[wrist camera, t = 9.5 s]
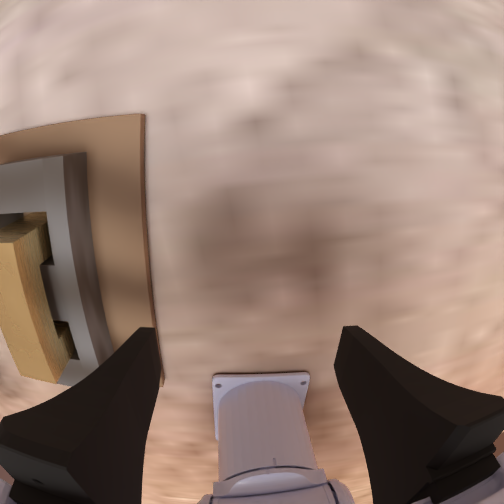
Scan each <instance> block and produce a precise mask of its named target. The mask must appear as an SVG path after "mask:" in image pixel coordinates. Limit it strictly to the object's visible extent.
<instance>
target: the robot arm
mask: <svg viewBox="0 0 504 504" xmlns="http://www.w3.org/2000/svg"><path fill="white" fill-rule="evenodd" d="M161 369H162V367H161V362H160V356H159V349H158V343H157V337H156V330H155V328H152V327H139V328H138V329H137V330H136V331H135V332H134V333H133V334H132V335H131V336H130V337H129V338H128V339H127V340H126V341H125V342H124V343H123V344H122V345H121V346H120V347H119V348H118V349H117V350H116V351H115V352H114V353H113V354H112V355H111V356H110V357H109V358H108V359H107V360H106V361H105V362H104V363H102V364H101V365H100V366H99V367H98V368H97V369H96V370H94V371H93V372H92V373H91V374H89V375H88V376H87V377H85V378H84V379H83V380H81V381H80V382H78V383H77V384H76V385H74V386H72V387H71V388H69V389H67V390H66V391H64V392H62V393H61V394H59V395H57V396H55V397H54V398H52V399H50V400H48V401H46V402H44V403H41V404H39V405H37V406H35V407H32V408H30V409H27V410H24V411H21V412H18V413H15V414H12V415H9V416H5V417H3V419H2V420H1V422H0V465H1V466H2V467H3V468H4V469H5V470H6V471H7V472H8V473H9V474H10V475H11V476H12V477H13V478H14V479H15V480H14V483H13V486H11V485H10V484H9V483H7V482H6V481H4V480H2V479H0V504H141V497H142V476H143V463H144V453H145V445H146V439H147V434H148V430H149V426H150V422H151V418H152V414H153V411H154V407H155V403H156V399H157V395H158V391H159V384H160V377H161ZM334 369H335V373H336V377H337V381H338V384H339V387H340V390H341V392H342V395H343V397H344V399H345V402H346V404H347V406H348V409H349V411H350V414H351V416H352V418H353V421H354V423H355V425H356V428H357V430H358V433H359V436H360V440H361V443H362V447H363V451H364V455H365V459H366V463H367V468H368V472H369V478H370V484H371V489H372V496H373V504H504V452H503V453H502V454H500V455H499V456H498V457H497V458H495V456H494V455H493V453H494V452H495V451H496V447H495V446H494V444H493V442H494V441H495V440H496V439H497V438H498V436H499V435H500V434H501V433H502V431H503V430H504V399H503V397H501V396H496V395H490V394H485V393H480V392H476V391H473V390H469V389H466V388H463V387H460V386H457V385H454V384H452V383H449V382H447V381H444V380H442V379H440V378H437V377H435V376H433V375H431V374H429V373H427V372H425V371H424V370H422V369H420V368H418V367H416V366H415V365H413V364H412V363H410V362H408V361H407V360H405V359H404V358H402V357H401V356H399V355H398V354H396V353H395V352H393V351H392V350H391V349H389V348H388V347H386V346H385V345H384V344H382V343H381V342H380V341H378V340H377V339H376V338H374V337H373V336H372V335H370V334H369V333H367V332H366V331H365V330H363V329H362V328H360V327H359V326H343V330H342V334H341V338H340V342H339V346H338V350H337V354H336V358H335V362H334ZM302 381H304V382H302ZM309 381H310V375H309V373H307V372H298V373H279V374H244V375H214V376H213V377H212V389H213V406H214V422H215V436H216V440H218V463H219V482H214V483H213V494H207V495H204V496H203V497H202V499H201V500H200V501H199V502H198V503H197V504H355V503H354V500H353V497H352V495H351V493H350V491H349V489H348V488H347V486H346V485H345V484H343V483H341V482H339V480H337V479H330V480H327V479H326V475H325V471H324V469H318V467H317V463H316V459H315V455H314V452H313V448H312V444H311V440H310V436H309V433H308V429H307V425H306V421H305V417H304V414H303V407H304V402H305V398H306V394H307V390H308V385H309ZM217 384H220V385H217Z"/></svg>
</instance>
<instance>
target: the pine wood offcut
mask: <svg viewBox="0 0 504 504" xmlns="http://www.w3.org/2000/svg"><path fill="white" fill-rule="evenodd" d="M51 255H52V248H51V242H50V235H49V228H48V221H47V213H46V212H36V213H30V214H28V215H26V216H24V217H22V218H20V219H18V220H16V221H14V222H12V223H10V224H9V225H7V226H5V227H3V228H1V229H0V327H1V330H2V333H3V335H4V338H5V340H6V343H7V345H8V348H9V350H10V352H11V355H12V357H13V359H14V362H15V364H16V366H17V368H18V370H19V372H20V375H21V376H25V377H29V378H33V379H37V380H41V381H45V382H50V383H54V384H57V382H58V380H59V378H60V376H61V374H62V373H63V371H64V369H65V367H66V365H67V364H68V362H69V360H70V358H71V356H72V355H73V353H74V351H75V349H76V347H75V343H74V340H73V337H72V334H71V330H70V327H69V323H68V321H59V320H53V319H52V316H51V312H50V308H49V305H48V301H47V297H46V293H45V289H44V285H43V281H42V276H41V271H40V267H39V265H40V264H41V263H42V262H44V261H45V260H46V259H47V258H48V257H50V256H51Z"/></svg>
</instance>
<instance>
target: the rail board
mask: <svg viewBox="0 0 504 504" xmlns="http://www.w3.org/2000/svg"><path fill="white" fill-rule="evenodd" d="M144 139H145V115H144V114H131V115H119V116H109V117H100V118H92V119H85V120H78V121H71V122H64V123H58V124H53V125H47V126H42V127H37V128H32V129H27V130H22V131H18V132H14V133H9V134H5V135H1V136H0V229H1V228H3V227H5V226H7V225H9V224H10V223H12V222H14V221H16V220H18V219H20V218H22V217H24V216H26V215H28V214H30V213H36V212H46V213H47V221H48V228H49V235H50V242H51V248H52V255H51V256H50V257H48V258H47V259H46V260H45V261H44V262H42V263H41V264H40V265H39V267H40V271H41V276H42V281H43V285H44V289H45V293H46V297H47V301H48V305H49V308H50V312H51V316H52V319H53V320H59V321H68V323H69V327H70V330H71V334H72V337H73V340H74V343H75V347H76V349H75V351H74V353H73V355H72V356H71V358H70V360H69V362H68V364H67V365H66V367H65V369H64V371H63V373H62V374H61V376H60V378H59V380H58V382H57V384H62V385H67V386H74V385H76V384H77V383H78V382H80V381H81V380H83V379H84V378H85V377H87V376H88V375H89V374H91V373H92V372H93V371H94V370H96V369H97V368H98V367H99V366H100V365H101V364H102V363H104V362H105V361H106V360H107V359H108V358H109V357H110V356H111V355H112V354H113V353H114V352H115V351H116V350H117V349H118V348H119V347H120V346H121V345H122V344H123V343H124V342H125V341H126V340H127V339H128V338H129V337H130V336H131V335H132V334H133V333H134V332H135V331H136V330H137V329H138V328H139V327H152V328H155V330H156V337H157V343H158V349H159V356H160V362H161V367H162V369H161V377H160V384H159V387H163V385H164V380H165V378H164V372H163V366H162V360H161V354H160V348H159V342H158V335H157V328H156V320H155V313H154V304H153V296H152V287H151V277H150V266H149V255H148V241H147V226H146V206H145V169H144Z"/></svg>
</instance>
